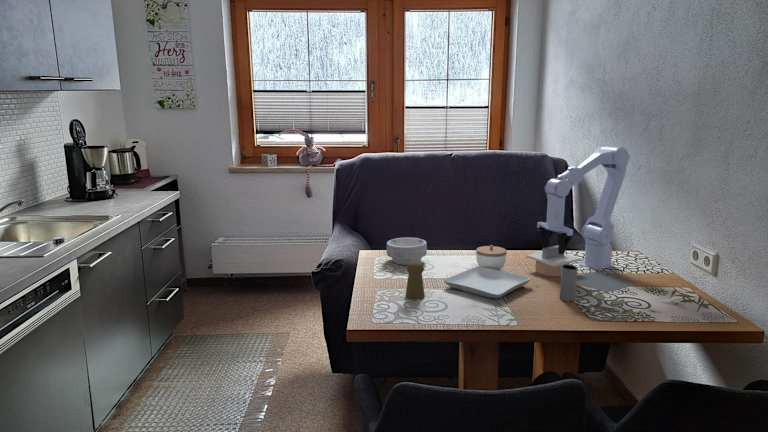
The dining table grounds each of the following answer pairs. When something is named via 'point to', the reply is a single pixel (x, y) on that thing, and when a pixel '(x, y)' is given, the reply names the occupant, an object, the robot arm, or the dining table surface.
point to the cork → (415, 281)
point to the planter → (568, 283)
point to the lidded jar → (491, 257)
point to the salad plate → (487, 282)
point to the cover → (553, 256)
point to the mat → (603, 281)
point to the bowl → (548, 269)
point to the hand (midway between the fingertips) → (553, 251)
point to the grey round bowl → (406, 250)
